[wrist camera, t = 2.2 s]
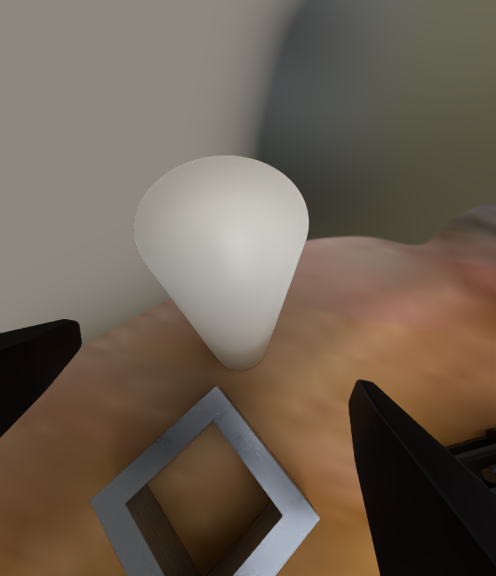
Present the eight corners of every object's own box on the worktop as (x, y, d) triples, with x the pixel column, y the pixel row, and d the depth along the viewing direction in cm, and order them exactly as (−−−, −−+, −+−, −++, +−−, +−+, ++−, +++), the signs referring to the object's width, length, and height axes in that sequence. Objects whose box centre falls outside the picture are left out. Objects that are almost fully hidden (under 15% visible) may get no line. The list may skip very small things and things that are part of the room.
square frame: (198, 627, 13) (184, 689, 10) (118, 482, 15) (89, 500, 12) (307, 496, 15) (320, 518, 12) (221, 387, 17) (216, 385, 15)
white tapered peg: (237, 383, 17) (205, 337, 5) (202, 340, 19) (101, 210, 6) (278, 344, 19) (345, 221, 6) (242, 306, 20) (232, 134, 7)
